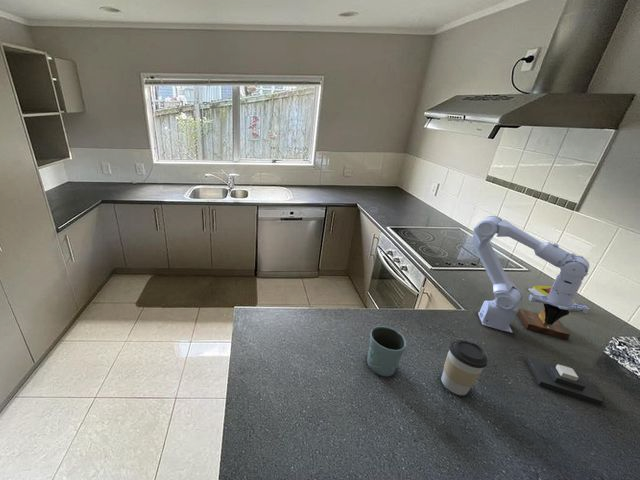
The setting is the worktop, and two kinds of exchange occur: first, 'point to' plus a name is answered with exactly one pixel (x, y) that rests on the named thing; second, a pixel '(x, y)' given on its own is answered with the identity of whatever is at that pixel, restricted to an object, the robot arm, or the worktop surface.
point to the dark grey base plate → (563, 381)
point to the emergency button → (543, 292)
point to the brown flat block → (535, 324)
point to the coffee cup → (463, 366)
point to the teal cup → (385, 350)
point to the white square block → (566, 372)
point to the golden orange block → (543, 317)
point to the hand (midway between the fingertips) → (548, 322)
